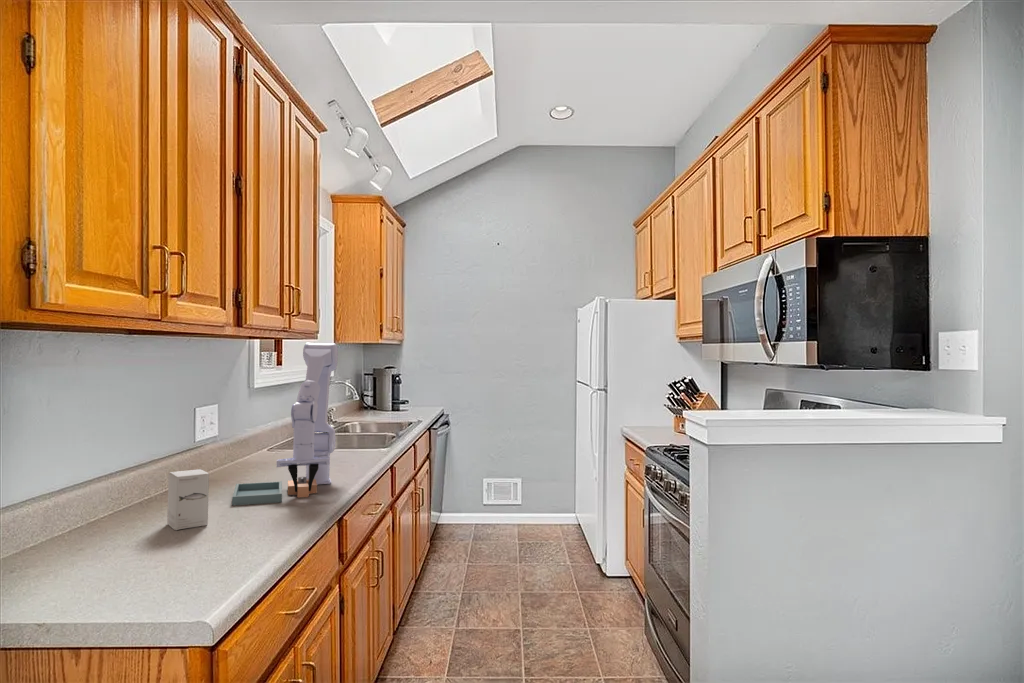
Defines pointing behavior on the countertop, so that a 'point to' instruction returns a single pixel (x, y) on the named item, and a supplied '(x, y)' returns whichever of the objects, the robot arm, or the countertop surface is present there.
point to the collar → (302, 489)
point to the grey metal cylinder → (302, 480)
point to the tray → (257, 493)
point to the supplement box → (188, 499)
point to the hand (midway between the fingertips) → (302, 490)
